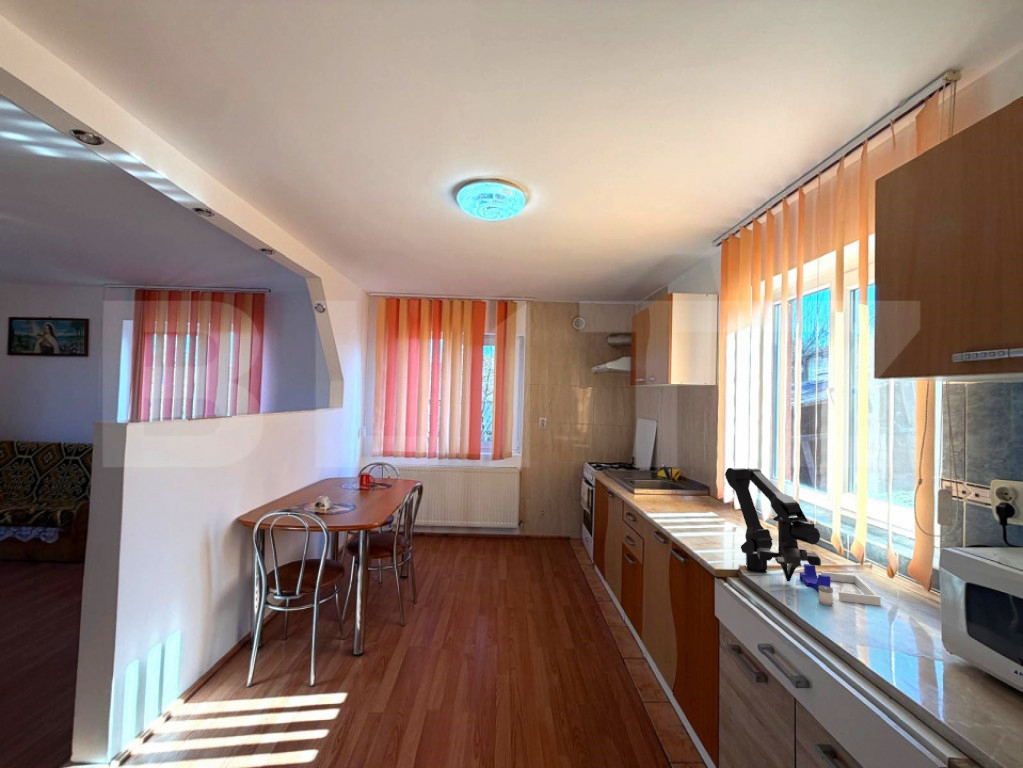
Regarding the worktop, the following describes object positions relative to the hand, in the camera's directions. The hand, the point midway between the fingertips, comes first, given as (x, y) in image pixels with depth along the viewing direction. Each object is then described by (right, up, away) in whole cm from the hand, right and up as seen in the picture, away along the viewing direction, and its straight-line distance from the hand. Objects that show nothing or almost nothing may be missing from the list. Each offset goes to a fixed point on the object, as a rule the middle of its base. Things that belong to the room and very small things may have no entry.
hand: (788, 581), depth 165 cm
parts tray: (+17, -1, -6) cm, 18 cm away
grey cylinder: (+3, -1, -16) cm, 16 cm away
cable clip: (+8, -2, -2) cm, 8 cm away
